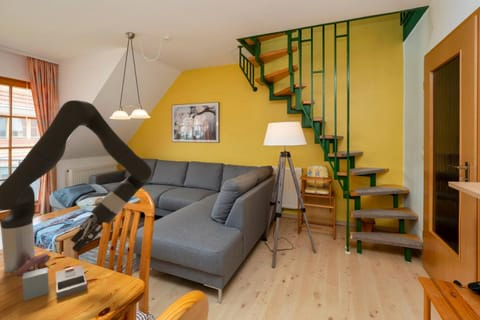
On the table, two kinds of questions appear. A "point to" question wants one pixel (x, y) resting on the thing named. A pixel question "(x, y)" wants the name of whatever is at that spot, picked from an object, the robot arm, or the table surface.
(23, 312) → the table surface
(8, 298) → the table surface
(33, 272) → the block
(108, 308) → the table surface
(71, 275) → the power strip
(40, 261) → the pink curved toy
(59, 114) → the robot arm
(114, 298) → the table surface
